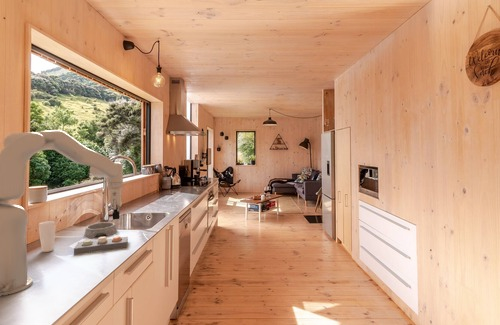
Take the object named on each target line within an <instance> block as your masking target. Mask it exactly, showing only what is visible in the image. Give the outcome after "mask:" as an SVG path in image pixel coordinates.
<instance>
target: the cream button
mask: <svg viewBox="0 0 500 325" xmlns="http://www.w3.org/2000/svg"><path fill="white" fill-rule="evenodd" d="M107 239H108V238H107V236H98V238H97V240H98V244H102V243H107Z"/></svg>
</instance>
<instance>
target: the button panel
mask: <svg viewBox="0 0 500 325" xmlns="http://www.w3.org/2000/svg"><path fill="white" fill-rule="evenodd" d="M120 237H121V236H120ZM113 238H114V237H111V238H107V243H102V244H98V239H97V240H92V245H86V246H83V241H80V242H77V243H76V245H75V246H74V248H73V254H74V255H80V254H81V253H82V254H87V253H88V254H89V253H96V252H103V251H110V250H118V249H126V248H127V247H128V242H129V240H128V239H129V237H128V236H122V237H121V241H118V242H113ZM82 254H81V255H82Z"/></svg>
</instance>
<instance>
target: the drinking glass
mask: <svg viewBox="0 0 500 325" xmlns="http://www.w3.org/2000/svg"><path fill="white" fill-rule="evenodd" d="M38 234H39V240H40V245H41V246H40V247H41V249H40V250H41V252H42V253H49V252H52V251H54V250H55V240H56V239H55V237H56V222H55V220H47V221H42V222H39V223H38Z"/></svg>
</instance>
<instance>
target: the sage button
mask: <svg viewBox="0 0 500 325" xmlns="http://www.w3.org/2000/svg"><path fill="white" fill-rule="evenodd" d="M92 241H93V240H91V239H86V240H83V241H82V242H83V246H86V245H92Z"/></svg>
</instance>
